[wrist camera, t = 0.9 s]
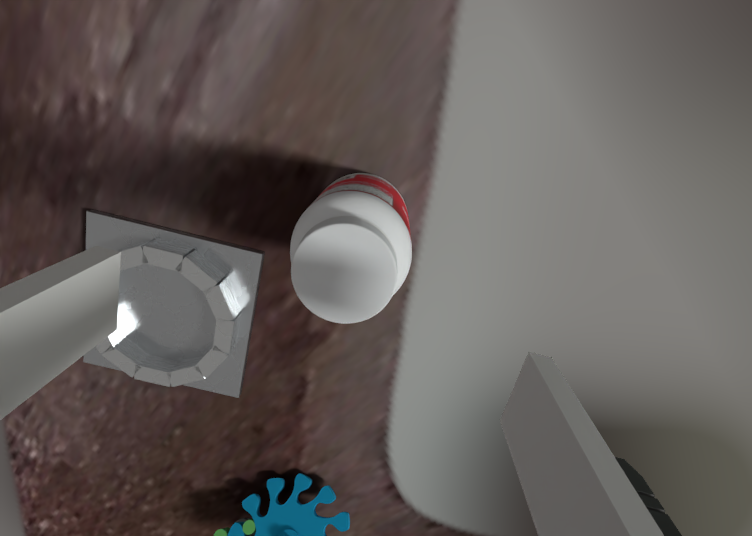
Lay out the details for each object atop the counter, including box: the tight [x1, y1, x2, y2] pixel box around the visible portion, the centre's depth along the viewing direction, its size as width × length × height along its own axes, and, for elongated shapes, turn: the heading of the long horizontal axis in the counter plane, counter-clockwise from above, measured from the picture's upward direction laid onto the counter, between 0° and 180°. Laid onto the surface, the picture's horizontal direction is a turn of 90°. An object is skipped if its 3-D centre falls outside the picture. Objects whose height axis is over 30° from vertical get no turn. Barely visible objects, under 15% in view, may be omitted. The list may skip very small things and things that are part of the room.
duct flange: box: [84, 209, 265, 398], centre depth 31 cm, size 12×12×2 cm
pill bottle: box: [290, 173, 412, 324], centre depth 24 cm, size 6×6×11 cm
